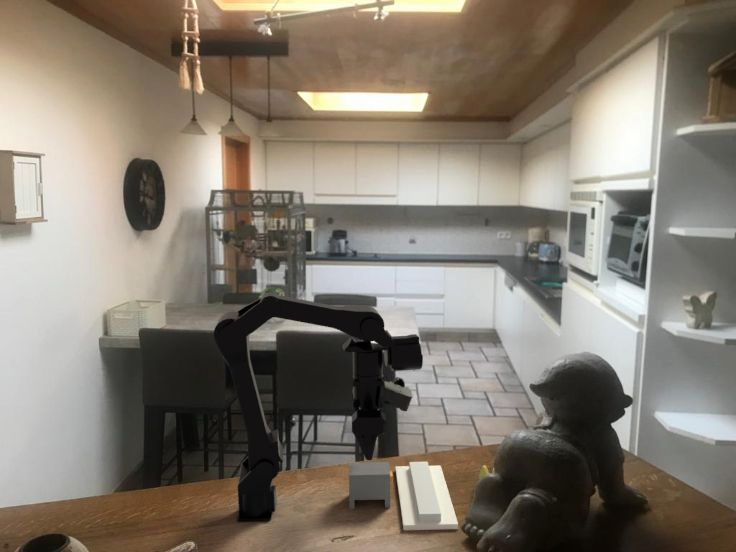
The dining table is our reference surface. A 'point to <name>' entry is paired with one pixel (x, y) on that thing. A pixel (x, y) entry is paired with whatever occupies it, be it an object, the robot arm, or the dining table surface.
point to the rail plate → (411, 505)
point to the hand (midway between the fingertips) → (368, 448)
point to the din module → (369, 482)
